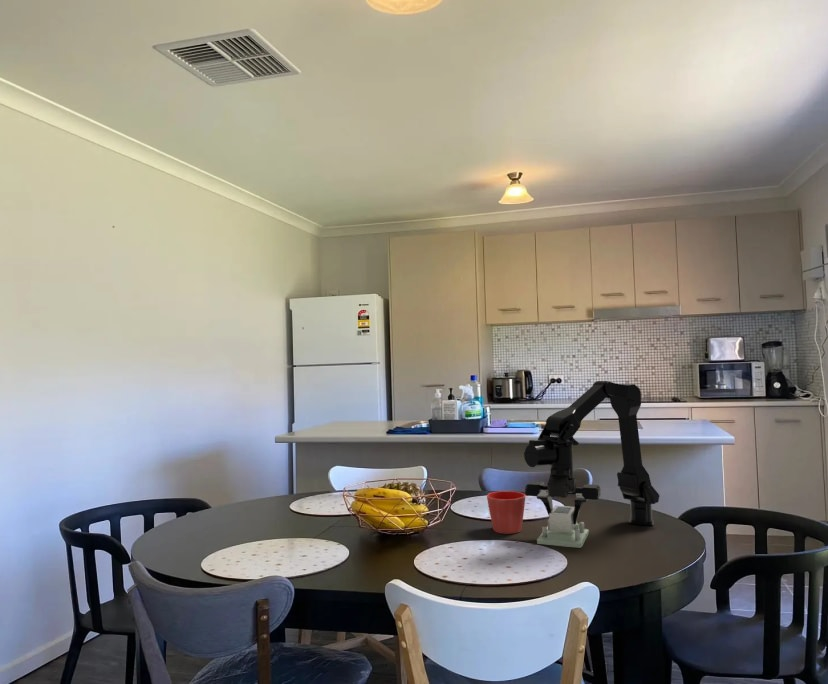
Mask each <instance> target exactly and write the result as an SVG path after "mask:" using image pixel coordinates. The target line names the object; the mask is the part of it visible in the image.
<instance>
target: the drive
mask: <svg viewBox="0 0 828 684" xmlns="http://www.w3.org/2000/svg"><path fill="white" fill-rule="evenodd" d="M574 507H575V506H569V505H568V506H566V505H555V506H553V509H552V510H551V512H550V513H549V515H548V520H549V524H550V531H557V532H568V533H572V531H573V529H574V528H575V526H576V525H577V523H578V521H577V522H576V524H574Z"/></svg>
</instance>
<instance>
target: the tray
mask: <svg viewBox="0 0 828 684" xmlns="http://www.w3.org/2000/svg"><path fill="white" fill-rule="evenodd" d="M589 531H590V529H587V528H585V522H584V521H580V522H579V523H578V522H577V525H576V526H575V528H574V529H573V531H572V533H568V532H557V531H550V524H549V519H547V526H544V525H543V526H541V534H540V535H539V536H538V538H537V539H536V544H539V545H547V546H556V547H557V546H558V547H567V548H568V547H569V548H577V549H579V548H580V549H581V548H582V547H583V545H584V543H585V541H586V540H587V537H588V535H589Z"/></svg>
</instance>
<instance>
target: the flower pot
mask: <svg viewBox="0 0 828 684" xmlns="http://www.w3.org/2000/svg"><path fill="white" fill-rule="evenodd" d="M486 498H487V504H488V505H487V506H488V510H489V515H490V521H491V525H492V529H493V531H494V532H495V533H499V534H508V535H510V534H516V533H518V532H519V533H520V532H521V531H522V528H523V521H524V515H525V514H524V513H525V506H526V505H525V504H526V495H525V493H523V492H520V491H512V490H507V491H505V490H502V491H499V490H498V491H494V492H489V493H488V494H487V495H486Z"/></svg>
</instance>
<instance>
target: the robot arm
mask: <svg viewBox="0 0 828 684" xmlns="http://www.w3.org/2000/svg"><path fill="white" fill-rule="evenodd" d="M605 399H608V400H609V401H610V406H611V408H612V409H613V410H614V412H615V414H616V415H617V419H618V427H619V434H620V435H619V436H620V445H621V452H622V453H621V454H622V461H623V466H622V468H621V471H618V472H617V473H616V476H617V482H618V483H617V487H619V490H620V492H621V493H622V497H623V499H624V500H629V502H630V503H629V506H630V517H629V519H628V524H629V525H640V526H651V527H652V526H654V524H655V523H654V522H655V519H654V518H653V508H652V507H653V505H656V504H658V503H659V500H660V493H658V491H657V490H656V489H655V488H654V486H653V485H652V482H651V477H650V474H649V473H648V471H647V470H646V468H645V467H644V466H643V461H642V460H643V459H642V452H641V444H640V442H641V441H640V435H639V426H638V425H639V424H638V416H637V415H638V412H639V411H640V408H641V406H642V393H641V389H640V387H638V385H636V384H631V383H625V384H624V383H616V382H611V381H610V380H596V381H595V382H593V384H592V386H590V388H589V389H587V390H586V391H585V392H584V393H583V394H581V395H580V396H579V397H578V398H577V399H576V400H575V401H574V402H573V403H571V404H570V405H569V406H567V407H565V408H564V409H561V410H558V411H557V412H555V413H553V414H550V416H548V417H547V419H546V421H545V425H544V427H543V428H542V430H541V432H540V434H539V436H538V438H537V440H536V439H531V440H529V441H528V445H527V446H526V448H525V449H524V453H523V457H524V461H525V463H526V465H527V466H529V467H530V468H537V467H538V468H539V467H544V466H550V474H549V477H548V481H547V484H545V483H544V481H536V480H531V481H529V482H528V483H527V484H526V485H525V487H524V488H525V489H524V490H525V492H524V494H525V496H530V497H531V496H535V497H536V499H537V500H540V501H541V502H542V503H543V505H544V508H545V510H546V512H547V515H548V516H549V513H550V512H551V510H552V509H553V508H554V506H553V498H554V497H558V498H559V497H560V498H561V499H564V498H567V497H569V495H575V496H576V497H575V498H574V499H573V500H574V501H573V502H574V506H573V507H574V524H576V522H577V523H578V518H579V514H580V511H581V508H582V505H583V504H584V503H587V502H588V501H589V500H595V501H596V500H599V499H600V497H601V487H600V485H599V484H584V485H583V486H581V487H579V486H577V481H576V478H575V477H574V455H573V453H574V452H573V447H574V446H579V444H580V443H579V441H577V440H576V439H575V438H574V436H575V434H576V433H577V432H578V431H579V429H580V428H581V425H582V421H583V420H584V419H585V418H586V417H588V415H589V414H590V413H592V411H593V410H594V409H596V408H597V407H598V406H599V405H600V404H601V403H602V402H603V401H604V400H605Z"/></svg>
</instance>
